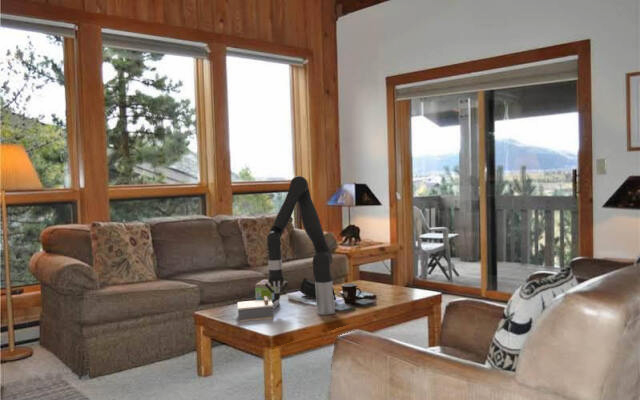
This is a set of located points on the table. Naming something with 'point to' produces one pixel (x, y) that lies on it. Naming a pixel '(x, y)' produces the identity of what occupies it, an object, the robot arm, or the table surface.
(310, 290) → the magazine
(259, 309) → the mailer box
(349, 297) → the coffee mug
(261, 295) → the tea box
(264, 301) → the lid
